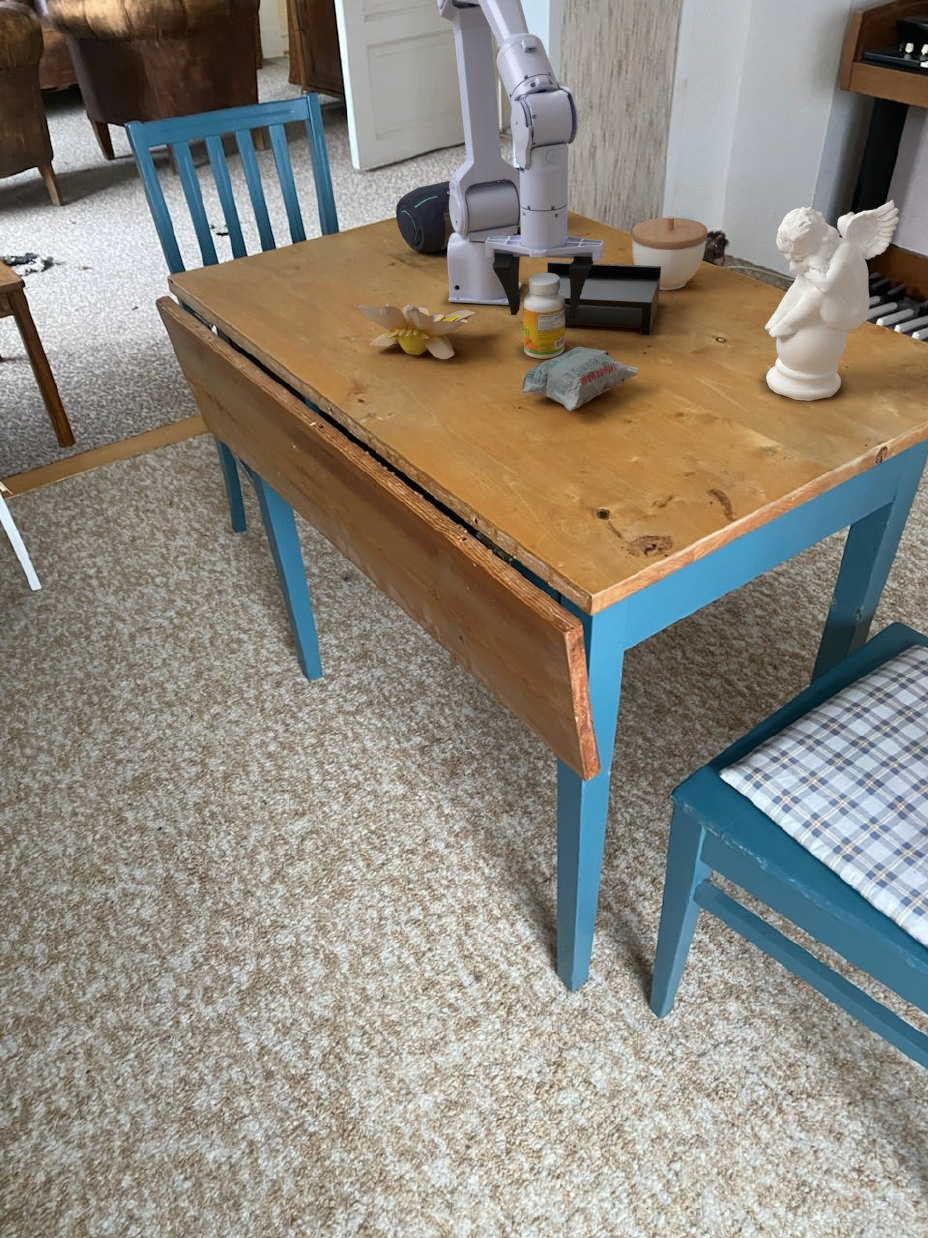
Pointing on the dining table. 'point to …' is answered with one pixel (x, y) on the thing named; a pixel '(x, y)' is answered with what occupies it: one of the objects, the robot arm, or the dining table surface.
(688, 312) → the dining table surface
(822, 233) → the cherub figurine
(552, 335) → the supplement bottle
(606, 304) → the black lipped tray
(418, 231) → the portable speaker
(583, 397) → the packaged food
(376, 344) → the decorative flower
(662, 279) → the trinket box
